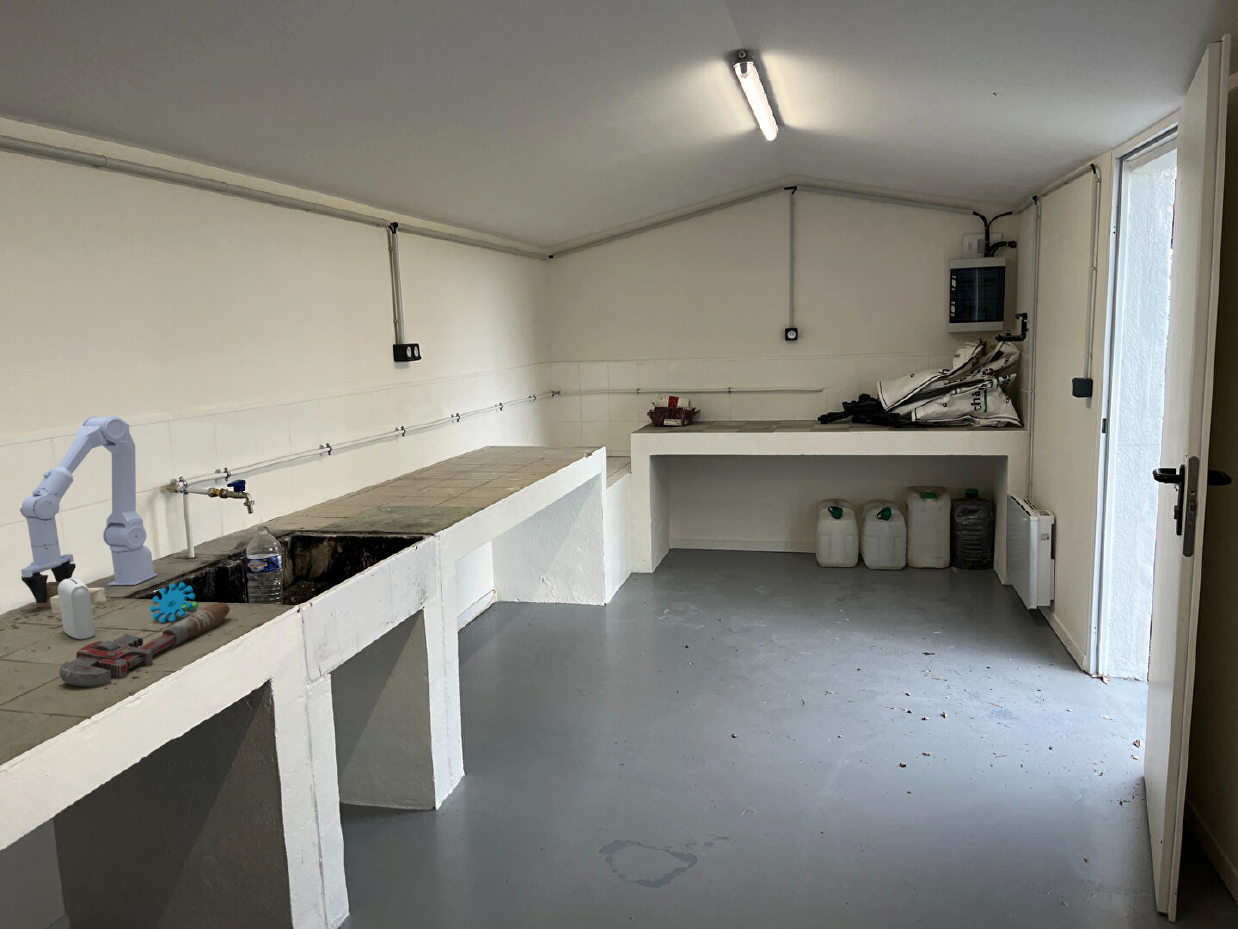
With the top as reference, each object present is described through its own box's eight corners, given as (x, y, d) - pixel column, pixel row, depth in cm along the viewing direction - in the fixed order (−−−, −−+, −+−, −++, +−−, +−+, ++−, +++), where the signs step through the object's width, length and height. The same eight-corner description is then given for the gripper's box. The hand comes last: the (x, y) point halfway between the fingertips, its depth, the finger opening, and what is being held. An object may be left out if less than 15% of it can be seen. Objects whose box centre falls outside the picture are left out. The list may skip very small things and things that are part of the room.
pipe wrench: (102, 691, 161) (98, 664, 160) (43, 689, 164) (39, 663, 163) (239, 619, 200) (236, 597, 200) (190, 618, 203) (187, 597, 202)
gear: (139, 616, 200) (162, 577, 205) (154, 628, 205) (176, 589, 210) (182, 624, 197) (204, 585, 203) (195, 636, 202) (216, 597, 207)
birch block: (76, 604, 221) (74, 588, 220) (106, 603, 220) (104, 587, 219) (52, 614, 213) (49, 597, 212) (83, 613, 212) (80, 597, 211)
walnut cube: (52, 601, 224) (49, 581, 223) (70, 601, 223) (67, 581, 222) (37, 607, 219) (34, 587, 218) (55, 607, 218) (52, 587, 217)
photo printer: (61, 632, 197) (53, 577, 195) (83, 627, 200) (75, 573, 198) (76, 641, 190) (67, 585, 188) (98, 636, 193) (90, 580, 191)
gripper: (52, 537, 226) (60, 589, 228) (6, 551, 212) (15, 607, 214) (77, 536, 225) (85, 589, 227) (33, 551, 211) (42, 607, 213)
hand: (53, 598), depth 221 cm, fingers open, 7 cm apart
